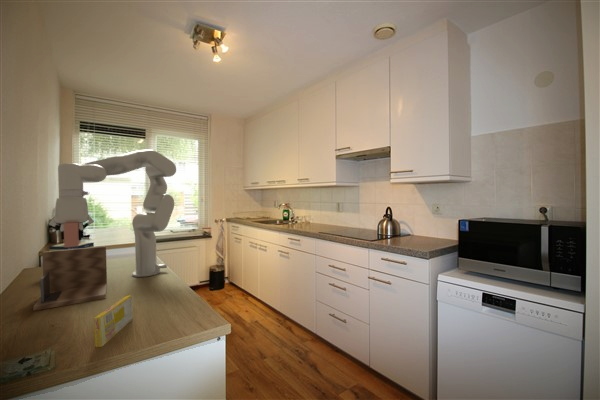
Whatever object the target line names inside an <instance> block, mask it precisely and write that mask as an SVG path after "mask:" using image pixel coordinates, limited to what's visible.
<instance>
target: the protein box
mask: <svg viewBox="0 0 600 400" xmlns="http://www.w3.org/2000/svg"><path fill="white" fill-rule="evenodd" d="M94 243H95V242H81V243H80V244H79V245H78V246H75V247H64V243H59V244H55V245H54V244H53V245H50V246H48V247H49V250H48V251H58V250H68V249H79V248H90V247H95V244H94Z"/></svg>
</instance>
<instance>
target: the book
mask: <svg viewBox="0 0 600 400" xmlns="http://www.w3.org/2000/svg"><path fill="white" fill-rule="evenodd" d="M79 229H80V228H79V224H78V222H75V223H64V241H63V242H64V243H63V244H64V247H75V246H78V245H79V244H80V243H82V240H79V232H78V231H79Z"/></svg>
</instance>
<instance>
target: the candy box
mask: <svg viewBox="0 0 600 400" xmlns="http://www.w3.org/2000/svg"><path fill="white" fill-rule="evenodd" d="M132 304H133V303H132V295H130V294H129V295H125V296H124V297H122V298H120V299H119V300H117V302H115V303H114V304H112V305H111V306H109V307H107V308H106V309H105V310H104V311H102V312H100V313H99V314H98V315H96V316H95V317H94V318H93V327H94V328H93V329H94V343H95V348H101V347H103V346H104V345H106V344H107V343H108V342H109V341H110V340H111V339H113V338H114V337H115V336H116V335H117V334H118V333H120V331H121V330H123V328H125V327H127V325H129V323H131V322H132V321H133V320H134V319H133V318H134V317H133V305H132Z"/></svg>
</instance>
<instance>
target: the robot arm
mask: <svg viewBox="0 0 600 400" xmlns="http://www.w3.org/2000/svg"><path fill="white" fill-rule="evenodd" d="M142 168H145V172H146V175H147V176H148V179H149V184H150V185H149V188H148V191H147V192H146V195H145V197H144V199H143V203H142V207H143V209H144V210H145V211H147V212H139V213H138V214H136V215H135V216H133V219H132V221H131V223H132V228H133V233H134V248H135V249H134V252H135V254H134V255H135V270H134V271H132V273H131V274H132V275H131V276H132V277H133V278H134V277H135V278H144V277H150V276H156V275H158V274H160V272H161V269H166V268H168V267H167V266H168V265H167V264H162V263H161V264H158V262H157V237H156V234H155V232H156V233H158V232H159V233H161V232H163V231H165V230H166V228H168V225H169V222H170V220H171V217H172V214H173V211H174V208H175V200H174V198H173V196H172V195H170V194H169V193H167V190H168V185H167V182H166V180H165V178H167V177H168V178H170V177H173V176H174V175H175V174H176V173H177V167H176V164H175V163H174V162H173V161H172V160H170V159H169V158H168V157H166V156H164V155H163V154H162V153H160V152H158V151H156V150H154V149H139V150H135V151H131V152H127V153H123V154H119V155H115V156H111V157H107V158H103V159H98V160H93V161H89V162H86V163H81V164H79V163H74V162H64V163H63V162H62V163H59V164H58V166H57V174H58V175H57V176H58V177H57V178H58V180H57V181H58V198H56V201H55V207H54V216H53V218H52V219H51V220H50V221H49V223H48V226H52V227H54V228H56V229H57V230H59V232H61V233H60V234H61V235H60V236H61V238H60V239H61V240H63V242H64V223H75V222H78V224H79V228H80V229H79V231H78V232H79V240H81V241H82V239H84V230H85V229H86V228H87V227H88V226H90V225H92V224H93V223H95V220H94V218H92V217H91V216H90V215H89V206H88V201H87V198H86V197H84V196H88V195H89V191H84V184H86V183H87V184H88V183H89V184H90V183H100V182H102V181H104V180H105V179H106V178H107V176H108V177H109V176H119V175H122V174H127V173H129V172H133V171H137V170H138V169H142Z"/></svg>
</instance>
